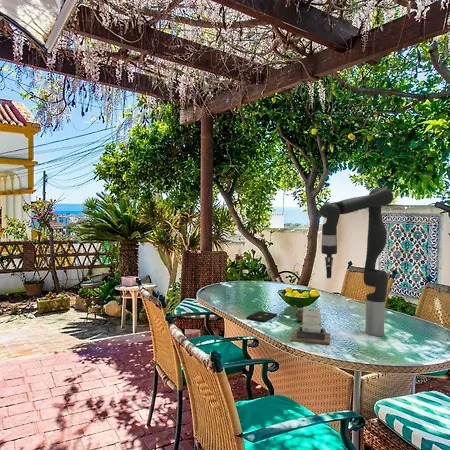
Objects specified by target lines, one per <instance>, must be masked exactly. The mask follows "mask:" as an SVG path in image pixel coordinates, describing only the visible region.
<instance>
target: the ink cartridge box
mask: <svg viewBox="0 0 450 450" xmlns="http://www.w3.org/2000/svg"><path fill="white" fill-rule="evenodd" d="M302 310H303V322H302V327H303V329H302V331H304V332H314V333H321V329H322V312H321V308H320V307H313V306H303V309H302Z"/></svg>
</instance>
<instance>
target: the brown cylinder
mask: <svg viewBox="0 0 450 450" xmlns="http://www.w3.org/2000/svg"><path fill="white" fill-rule="evenodd" d="M295 318H296V319H297V320H298V321H300V322H301V323H303V309H299V310H297V311H296V314H295Z"/></svg>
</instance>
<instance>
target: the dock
mask: <svg viewBox="0 0 450 450" xmlns="http://www.w3.org/2000/svg"><path fill="white" fill-rule="evenodd" d="M302 329H303V326H298V328H297V329H294V330H293V332H292V336H291V337H290V342H297V343H305V344H312V345H314V344H315V345H322V346H330V345H331V333H328V332H326V329H325V328H321V333H314V332H304V331H302Z"/></svg>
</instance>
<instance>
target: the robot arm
mask: <svg viewBox="0 0 450 450" xmlns="http://www.w3.org/2000/svg"><path fill="white" fill-rule="evenodd" d="M393 200H394V194H393V191H392V190H391V189H389V188H385V187H380V188H373V189H371V190H370V192H369V193H368V194H367V195H361V196H355V197H350V198H345V199H342V200H340V201H334V202H333V201H332V202H328V203H324V204H322V205H321V206H320V208H319V215H320V216H321V217H322V218H324V219H326V221H325V223H323V224H322V227H321V249H320V250H321V254H322V255H326V256H325V257H324V261H325V264H324V266H325V271H326V279H332V270H333V264H334V256H333V255H337V254H338V235H337V233H338V224H339V219H340V215H346V214H347V215H348V214H351V213H355V212H358V211H361V210H365V209H368V224H367V225H368V227H367V238H366V241H367V242H366V256H365V262H364V269H363V278H362V279H363V283H364V285H366V286H367V287H371V288H372V287H373V288H374V291H373V292H370V293H367V294H366V297H365V326H364V332H365V334H367V335H369V336H376V337H381V336H384V335H385V324H386V323H385V320H386V317H385V315H386V314H385V313H386V299H387V298H386V297H387V293H388V282H389V279H388V277H389V276H388V273H387V272H386V271H385V270H382V269H376V265H377V260H378V258H379V256H380V255H381V253H383V251H384V249H385V247H386V246H387V235H388V234H387V228H386V226H385V222H384V220H383V218H382V207H386V206H388V205H391V203H392V202H393Z"/></svg>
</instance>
